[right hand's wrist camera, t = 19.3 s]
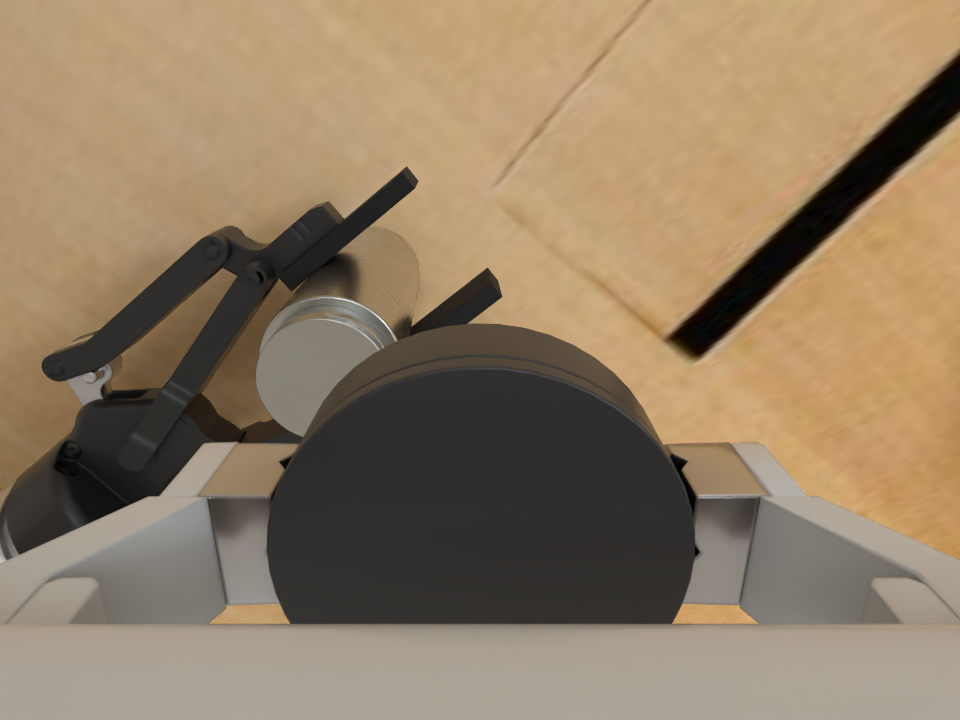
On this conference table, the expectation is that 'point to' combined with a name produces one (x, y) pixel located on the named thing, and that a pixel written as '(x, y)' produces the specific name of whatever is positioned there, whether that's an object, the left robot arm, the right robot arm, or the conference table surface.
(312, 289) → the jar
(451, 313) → the left robot arm
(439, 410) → the lid
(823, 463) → the conference table surface
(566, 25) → the conference table surface
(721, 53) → the conference table surface
